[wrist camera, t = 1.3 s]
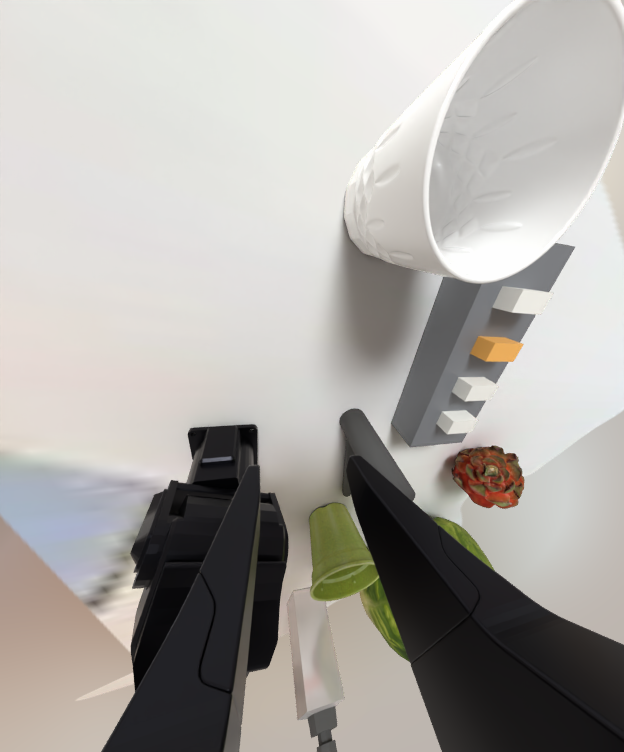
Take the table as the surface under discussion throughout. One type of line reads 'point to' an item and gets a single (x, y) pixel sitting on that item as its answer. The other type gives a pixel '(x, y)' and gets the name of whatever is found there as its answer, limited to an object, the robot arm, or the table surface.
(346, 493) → the dark grey thin rod
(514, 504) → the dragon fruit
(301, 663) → the soap dispenser
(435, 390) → the breaker strip
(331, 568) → the plant pot
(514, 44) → the white cup
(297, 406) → the table surface
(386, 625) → the lettuce
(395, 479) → the post
